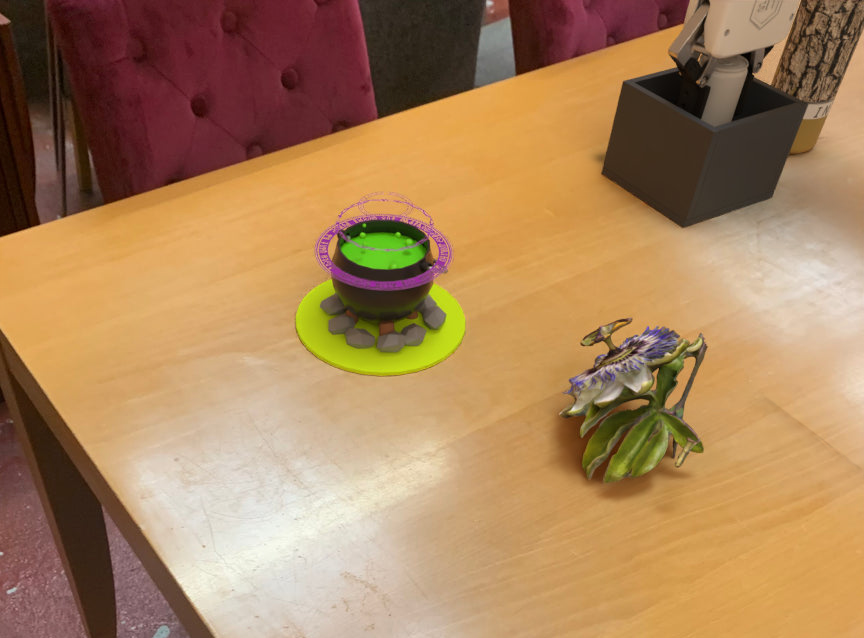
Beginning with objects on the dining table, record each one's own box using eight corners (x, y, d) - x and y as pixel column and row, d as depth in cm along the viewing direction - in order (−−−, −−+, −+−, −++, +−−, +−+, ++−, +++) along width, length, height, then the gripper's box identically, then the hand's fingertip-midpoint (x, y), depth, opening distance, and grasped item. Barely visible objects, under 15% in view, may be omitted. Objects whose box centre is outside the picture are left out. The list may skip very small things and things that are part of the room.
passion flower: (572, 460, 75) (607, 317, 72) (705, 494, 69) (748, 340, 67) (525, 468, 65) (563, 302, 62) (675, 508, 60) (724, 329, 57)
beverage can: (690, 194, 92) (728, 74, 83) (654, 175, 95) (688, 57, 86) (720, 180, 94) (760, 62, 85) (684, 162, 97) (720, 46, 88)
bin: (687, 147, 101) (714, 57, 94) (772, 197, 94) (809, 103, 86) (601, 173, 97) (622, 80, 89) (683, 227, 89) (714, 131, 82)
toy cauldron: (496, 309, 80) (514, 194, 72) (407, 399, 71) (417, 281, 63) (357, 255, 85) (359, 143, 77) (260, 333, 77) (251, 217, 69)
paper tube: (751, 150, 101) (845, -113, 82) (753, 124, 105) (843, -131, 86) (814, 160, 99) (925, -105, 80) (814, 134, 103) (919, -124, 85)
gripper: (733, -70, 71) (668, 151, 85) (875, -98, 77) (794, 113, 90) (667, -95, 75) (616, 119, 89) (807, -119, 81) (739, 85, 95)
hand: (706, 114), depth 89 cm, fingers open, 5 cm apart
